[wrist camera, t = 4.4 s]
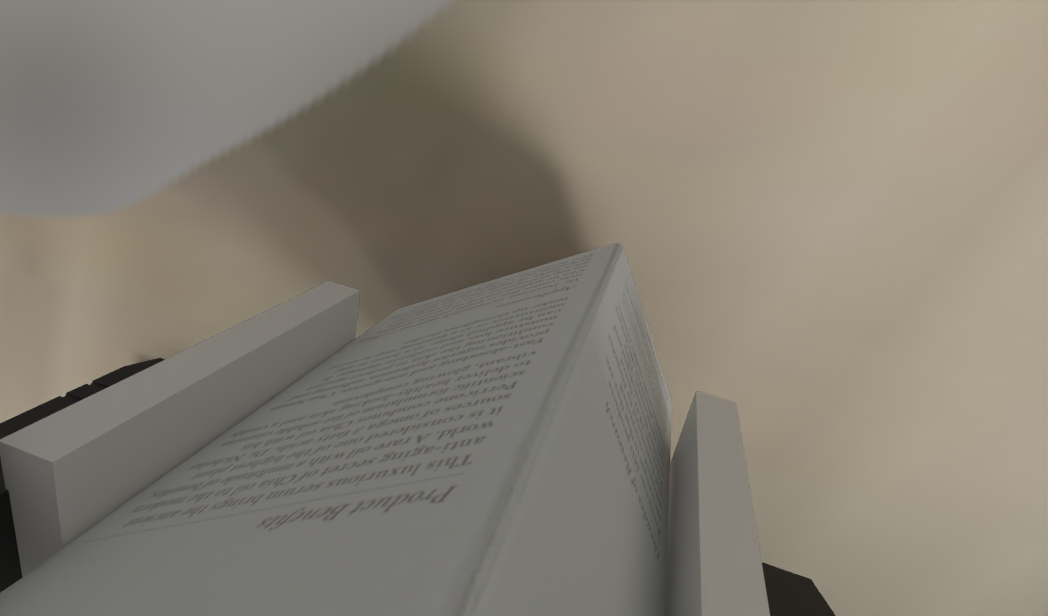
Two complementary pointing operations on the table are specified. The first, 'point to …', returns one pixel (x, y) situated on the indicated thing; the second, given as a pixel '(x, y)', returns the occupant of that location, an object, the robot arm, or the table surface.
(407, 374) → the skincare box
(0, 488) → the robot arm
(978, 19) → the table surface
